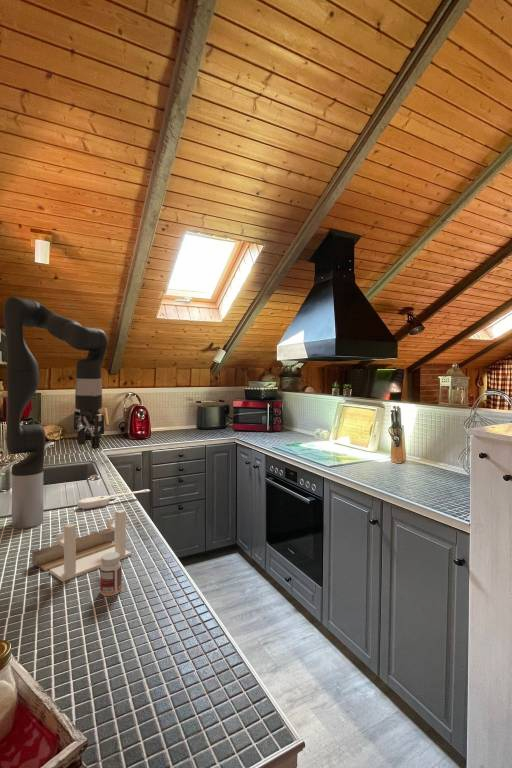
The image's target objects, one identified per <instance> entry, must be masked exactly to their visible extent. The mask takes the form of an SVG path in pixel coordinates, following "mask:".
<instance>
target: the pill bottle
mask: <svg viewBox="0 0 512 768" xmlns="http://www.w3.org/2000/svg"><path fill="white" fill-rule="evenodd" d="M122 571H123V570H122V562H121V560H120V554H119V553H117V552H110V553H106V554H104V555H103V556H102V564H101V566H100V568H99V576H100V577H99V585H100V586H99V589H100V590H99V592H100V594H101V596H104V597H111V596H116V595H118V594H119V593H120V592H121V591H122V582H123V581H122V580H123V579H122V574H123V573H122Z"/></svg>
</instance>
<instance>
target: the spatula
mask: <svg viewBox="0 0 512 768" xmlns="http://www.w3.org/2000/svg"><path fill="white" fill-rule="evenodd" d="M149 492H151V489H148V488H146V489H142V490H138V491H137V490H136V491H130V492H123V493H117V494H111V495H100V496H98V495H97V496H93V497H86V498H82V499H79V500H78V501H77V507H78V508H80V509H82V510H89V509H93V508H99V507H105V506H107V505H108V506H109V504H110V499H112V498H117V497H123V496H129V495H134V494H140V493H149Z"/></svg>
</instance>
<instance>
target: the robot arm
mask: <svg viewBox="0 0 512 768" xmlns="http://www.w3.org/2000/svg"><path fill="white" fill-rule="evenodd" d="M2 309H3V311H2V312H3V314H2V315H3V324H4V333H5V342H6V344H5V345H6V388H7V389H6V393H7V415H6V418H7V419H6V430H5V431H6V433H5V436H6V437H5V445H6V449H7V452H8V453H9V454H10V455H18V454H19V455H20V454H28V453H29V454H28V456H27V457H25V458H24V459H22V460H21V461H19V462H16V463H15V464H13V465H12V467H11V527H13V529H28V528H32V527H36V526H39V525H41V524H42V523H43V522H44V465H45V448H46V447H45V445H46V432H45V428H44V426H43V425H41V424H38V423H36V424H22V425H21V420H22V416H23V414H24V411H25V408H26V407H27V405H28V404H29V402H30V401H31V399H32V398H33V396H34V395H35V393H36V392H37V390H38V388H39V385H40V381H39V380H40V376H39V375H40V373H39V372H40V370H39V368H40V367H39V364H38V362H37V359H36V358H35V356H34V355H33V353H32V352H31V350H30V348H29V346H28V345H27V343H26V340H25V336H24V329H23V328H24V327H25V328H38V329H45V330H46V331H47V332H48V333H49V334H50V335H51V336H53V337H54V338H56V339H59V340H61V341H63V342H65V343H66V344H68V345H69V346H70V347H71V348H73V349H75V350H78V351H83V352H88V353H87V356H86V357H85V358H80V359H78V360H77V362H76V366H75V367H76V372H75V373H76V375H75V376H76V378H75V385H74V386H75V387H74V388H75V389H74V390H75V391H74V392H75V394H74V397H75V400H74V401H75V402H74V407H75V410H74V412H73V430H74V431H75V430H76V431H75V432H76V433H77V445H78V446H81V445H85V444H87V443H86V441H87V439H86V438H87V437H86V436H87V435H86V431H87V430H88V431H89V432H90V434H91V436H90V437H91V441H90V442H91V443H90V444H91V445H90V448H91V450H92V449H93V450H97V449H99V448H100V443H101V442H100V437H101V436H102V435H104V434H105V415H104V414H103V413H102V414H101V413H100V414H99V413H98V411H99V410H101V409H103V384H102V383H103V382H102V366H103V361H104V358H105V354H106V351H107V347H108V338H107V337H108V336H107V334H106V332H105V331H104V330H102V329H100V328H95V327H86V326H83V325H81V323H79V322H77V321H76V320H73V319H71V318H68V317H66V316H62V315H60V314H57V313H55V312H54V311H52V310H50V309H49V308H47V307H46V306H44V305H43V304H42V303H40V302H38V301H37V300H32V299H27V298H23V297H16V296H9V297H8V298H7V299H6V300H5V301H4V305H3V308H2Z"/></svg>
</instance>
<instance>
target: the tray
mask: <svg viewBox="0 0 512 768" xmlns="http://www.w3.org/2000/svg"><path fill="white" fill-rule="evenodd" d="M112 547H115V542H114V541H112V542H109V543H106V544H103V545H100V546H97V547H95V548H92V549H89V550H86V551H83V552H80V553H77V554H76V560H78V559H81V558H84V557H87V556H89V555H92V554H95V553H98V552H101V551H103V550H106V549H109V548H112ZM61 565H64V558H62V559H59V560H56V561H53V562H50V563H47V564H44V565H42V566H39V567H38V568H40V569H41V570H43V571H48V570H50V569H53V568H56V567H58V566H61Z"/></svg>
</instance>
